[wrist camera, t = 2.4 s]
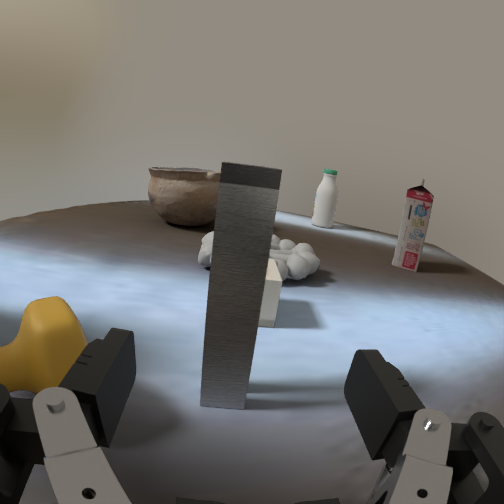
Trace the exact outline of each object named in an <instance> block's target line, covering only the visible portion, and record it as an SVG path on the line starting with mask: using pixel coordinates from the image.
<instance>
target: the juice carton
mask: <svg viewBox="0 0 504 504" xmlns="http://www.w3.org/2000/svg"><path fill="white" fill-rule="evenodd" d="M423 185H424V179H423V181H422V185H421V186H418V187H414V188H410V189H408V190H407V196H406V201H405V207H404V212H403V218H402V222H401V227H400V232H399V236H398V240H397V245H396V249H395V253H394V257H393V261H392V265H394V266H397V267H400V268H404V269H407V270H411V271H414V272H417V268H418V265H419V261H420V257H421V253H422V249H423V245H424V240H425V236H426V232H427V227H428V223H429V218H430V213H431V208H432V202H433V197H434V196H433V195H432V194H431V193H430V192H429V191H428V190H426V188H424V187H423Z"/></svg>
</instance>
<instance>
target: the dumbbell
mask: <svg viewBox="0 0 504 504" xmlns="http://www.w3.org/2000/svg"><path fill="white" fill-rule="evenodd" d="M86 345H88V344H87V340H86V337H85V334H84V331H83V329H82V326H81V324H80V322H79V320H78V319H77V317H76V315H75V314H74V312H73V311H72V309H71V308H70V306H69V305H68V304H67V303H66V302H65V300H63V299H62V298H60V297H57V296H56V297H48V298H43V299H38V300H35V301H32V302H31V303H30V304H28V305H27V307H26V309H25V311H24V314H23V317H22V321H21V325H20V329H19V332H18V335H17V336H16V338H15V339H14V340H13V341H12V342H11V343H10V344H8V345H5V346H2V347H0V383H1V384H3V385H4V386H5V387H6V388H7V389H8V391H9V392H13V391H17V390H28V391H31V392H33V393H35V394H38V393H39V392H40V391H42V390H44V389H46V388H50V387H58V386H59V384H60V383H61V381H62V380H63V378H64V377H65V375H66V374H67V372H68V371H69V369H70V368H71V366H72V365H73V364H74V363H75V361H76V359H77V358H78V356H80V354H81V352H82V351H83V349H84V348H85V347H86Z"/></svg>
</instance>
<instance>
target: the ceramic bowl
mask: <svg viewBox="0 0 504 504" xmlns="http://www.w3.org/2000/svg"><path fill="white" fill-rule="evenodd" d="M149 171H150V174H151V180H150V183H149V189H148V196H149V200H150V203H151V204H152V206H153V208H154V210H155V211H156V212H157V213H158V214H159V215H160V216H161V217H162V218H163V219H164V220H166V221H168V222H170V223H173V224H178V225H185V226H201V225H205V224H207V223H209V222H211V221H212V220H213V219H215V218H216V209H217V200H218V191H219V183H220V175H221V171H211V170H202V169H197V168H158V167H152V168H149Z"/></svg>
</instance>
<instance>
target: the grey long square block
mask: <svg viewBox="0 0 504 504" xmlns="http://www.w3.org/2000/svg"><path fill="white" fill-rule="evenodd" d="M281 173H282V170H280V169H276V168H269V167H262V166H254V165H247V164H239V163H230V162H222V168H221V175H220V183H219V191H218V200H217V209H216V218H215V227H214V236H213V246H212V256H211V266H210V276H209V287H208V299H207V310H206V323H205V336H204V349H203V364H202V380H201V397H200V406H209V407H219V408H230V409H244V406H245V400H246V394H247V388H248V383H249V377H250V371H251V365H252V359H253V353H254V347H255V341H256V335H257V329H258V323H259V317H260V311H261V305H262V298H263V292H264V286H265V280H266V273H267V267H268V260H269V254H270V247H271V241H272V234H273V228H274V221H275V214H276V208H277V201H278V194H279V186H280V180H281Z"/></svg>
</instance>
